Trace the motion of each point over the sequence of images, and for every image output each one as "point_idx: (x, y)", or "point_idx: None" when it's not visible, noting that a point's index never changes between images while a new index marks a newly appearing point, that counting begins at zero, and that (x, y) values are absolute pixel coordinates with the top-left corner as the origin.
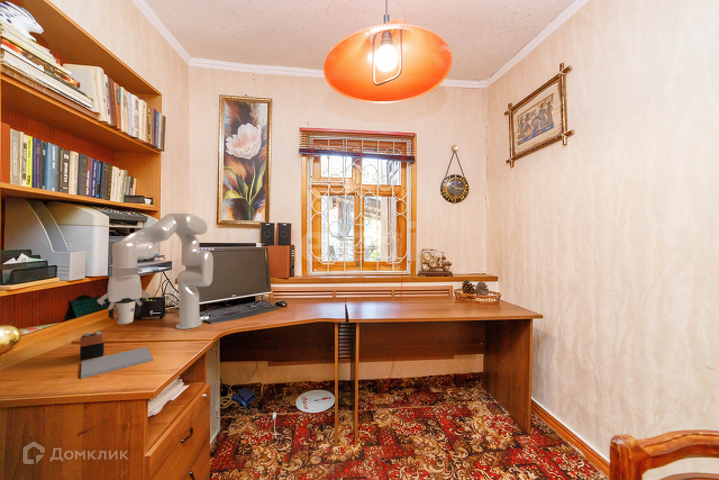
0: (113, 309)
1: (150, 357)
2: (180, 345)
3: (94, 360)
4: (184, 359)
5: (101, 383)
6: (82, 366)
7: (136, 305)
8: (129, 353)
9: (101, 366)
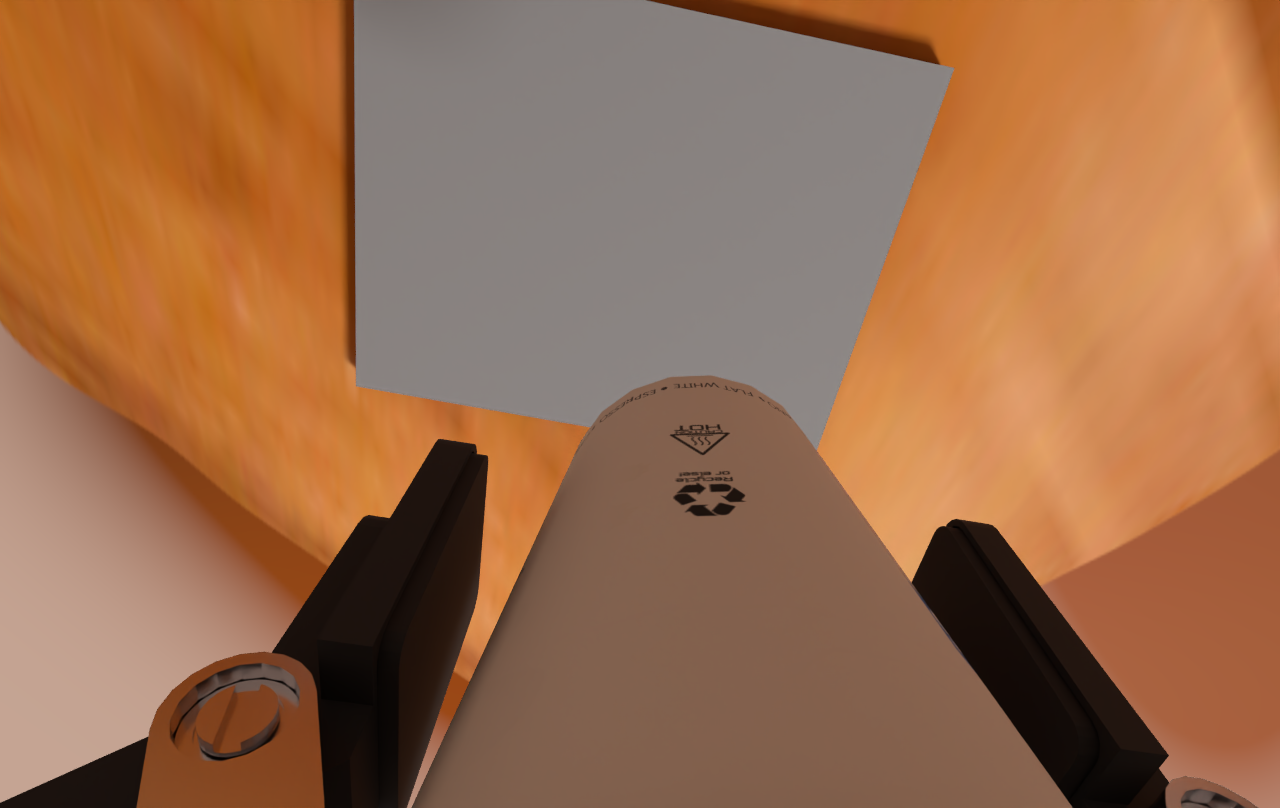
0: (388, 805)
1: None
2: (1161, 287)
3: (458, 51)
4: None
5: None
6: (361, 151)
7: (1074, 783)
8: (749, 148)
9: (488, 309)
